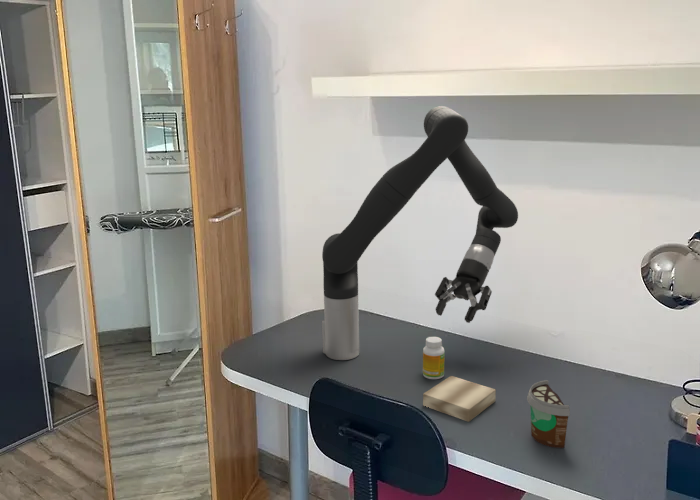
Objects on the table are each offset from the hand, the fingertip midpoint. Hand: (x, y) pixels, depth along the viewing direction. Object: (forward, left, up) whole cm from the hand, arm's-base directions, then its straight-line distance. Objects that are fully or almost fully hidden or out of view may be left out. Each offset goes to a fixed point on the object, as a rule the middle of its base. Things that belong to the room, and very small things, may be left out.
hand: (452, 317), depth 172 cm
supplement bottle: (0, -9, -13) cm, 16 cm away
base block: (+13, -18, -13) cm, 25 cm away
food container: (+34, -20, -13) cm, 41 cm away
